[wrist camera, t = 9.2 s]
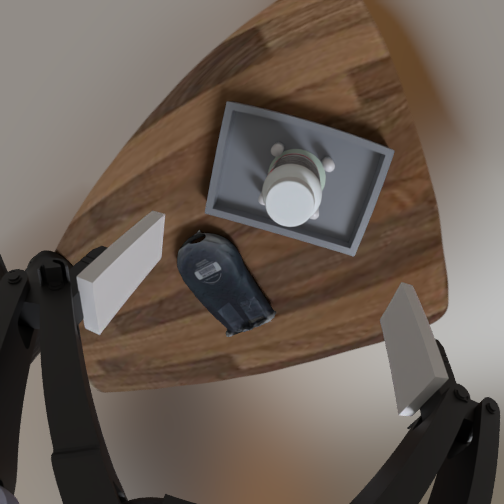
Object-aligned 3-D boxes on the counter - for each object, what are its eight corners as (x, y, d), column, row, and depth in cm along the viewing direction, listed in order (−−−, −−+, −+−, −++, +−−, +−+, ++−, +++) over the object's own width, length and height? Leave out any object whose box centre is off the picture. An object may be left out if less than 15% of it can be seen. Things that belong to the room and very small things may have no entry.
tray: (211, 205, 37) (202, 215, 34) (232, 101, 31) (224, 101, 28) (351, 246, 36) (355, 260, 33) (388, 147, 30) (396, 152, 27)
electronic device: (283, 296, 44) (219, 218, 37) (277, 326, 39) (204, 245, 33) (234, 312, 48) (170, 245, 42) (225, 339, 44) (154, 271, 38)
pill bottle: (267, 155, 32) (251, 175, 23) (316, 149, 31) (320, 168, 22) (274, 201, 34) (262, 237, 26) (321, 197, 33) (326, 232, 24)
